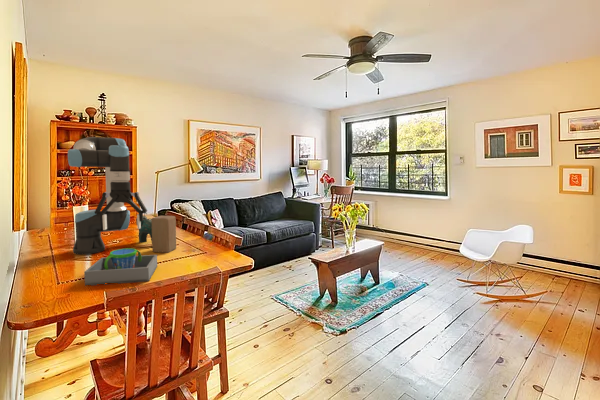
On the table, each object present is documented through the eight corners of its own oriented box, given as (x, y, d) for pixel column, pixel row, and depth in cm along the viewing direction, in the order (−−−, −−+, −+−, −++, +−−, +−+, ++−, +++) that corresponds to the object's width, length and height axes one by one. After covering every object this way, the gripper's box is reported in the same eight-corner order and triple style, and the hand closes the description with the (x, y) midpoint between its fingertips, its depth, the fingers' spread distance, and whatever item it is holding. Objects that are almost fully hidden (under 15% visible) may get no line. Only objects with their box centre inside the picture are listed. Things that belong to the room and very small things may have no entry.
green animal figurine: (135, 242, 199) (134, 211, 196) (145, 240, 204) (144, 210, 202) (152, 247, 187) (151, 214, 185) (162, 245, 193) (161, 213, 190)
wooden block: (177, 248, 185) (176, 215, 183) (168, 253, 175) (167, 218, 173) (161, 247, 186) (160, 215, 184) (151, 252, 176) (150, 217, 174)
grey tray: (85, 285, 127) (84, 271, 126) (102, 269, 146) (101, 257, 145) (148, 281, 133) (148, 267, 132) (157, 266, 152) (156, 254, 151)
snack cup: (110, 280, 130) (108, 257, 129) (100, 275, 136) (99, 252, 135) (147, 271, 142) (146, 249, 141) (136, 266, 149) (136, 245, 147)
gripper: (84, 181, 128) (86, 231, 130) (149, 181, 134) (151, 229, 137) (91, 180, 135) (93, 228, 137) (153, 181, 142) (154, 226, 144)
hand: (122, 229), depth 137 cm, fingers open, 13 cm apart
